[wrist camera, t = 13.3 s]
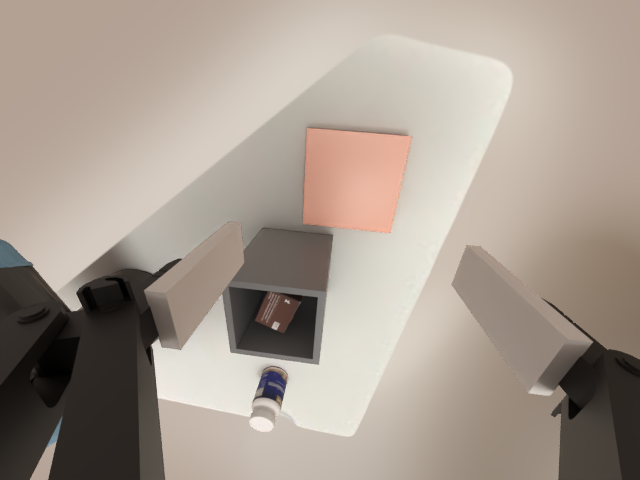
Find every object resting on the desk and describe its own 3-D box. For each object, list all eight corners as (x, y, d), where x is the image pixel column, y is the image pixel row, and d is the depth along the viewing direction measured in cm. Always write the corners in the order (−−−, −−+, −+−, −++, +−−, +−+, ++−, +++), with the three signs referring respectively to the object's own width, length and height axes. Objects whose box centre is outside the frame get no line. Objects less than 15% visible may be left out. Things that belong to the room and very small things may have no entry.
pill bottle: (293, 375, 52) (282, 426, 43) (278, 385, 54) (264, 437, 45) (272, 362, 51) (257, 412, 42) (258, 373, 53) (240, 423, 44)
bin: (265, 285, 42) (230, 352, 29) (262, 227, 37) (220, 279, 24) (327, 292, 41) (318, 364, 29) (332, 235, 36) (326, 291, 24)
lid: (305, 218, 36) (302, 223, 34) (309, 127, 30) (306, 127, 29) (387, 227, 35) (390, 233, 33) (407, 135, 30) (412, 136, 28)
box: (290, 241, 38) (268, 288, 27) (316, 253, 38) (304, 303, 27) (278, 270, 40) (253, 322, 29) (302, 280, 41) (286, 335, 30)
